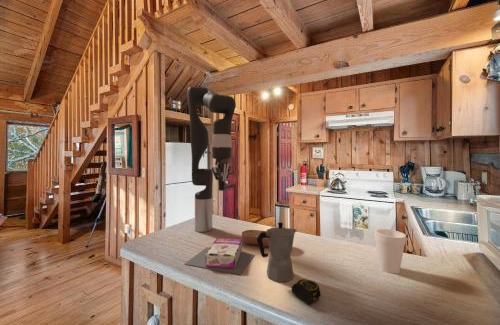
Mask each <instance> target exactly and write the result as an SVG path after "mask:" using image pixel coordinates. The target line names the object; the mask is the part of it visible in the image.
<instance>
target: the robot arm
mask: <svg viewBox="0 0 500 325" xmlns="http://www.w3.org/2000/svg"><path fill="white" fill-rule="evenodd" d="M186 92H187V93H186V96H187V97H186V99H187V106H188V115H189V116H188V117H189V135H190V136H189V138H190V149H191V183H192V184H193V186H203V187H204V186H205V187H204V189H202V190H200V191H197V192H195V194H194V231H195V232H197V233H207V232H210V231H212V230H213V179H215V180H216V181H217V182H218V191H221V192H223V191H225V190H226V181H227V179H229V177H230V173H231V169H232V166H231V165H229V159H232V149H233V148H232V144H233V143H232V123H233V122H232V121H233V118H234V114H235V109H236V101H235V98H234V97H233V96H230V95H223V94H218V93H215V92H212V91H211V90H210V89H209V88H208V87H205V86H189V87H188V88H187V91H186ZM197 107H206V108H207V109H209V111H210V112H211V113H214V114H220V115H221V114H222V115H224V116H223V118H218V119H214V120H213V123H212V139H211V141H212V142H211V143H212V145H211V146H212V147H211V148H212V149H211V151H212V152H211V153H212V154H211V155H212V159H215V162H214V167H212V168H200V161H201V159H202V157H203V156H204V154H205V152H206V150H207V149H208V148H209V139H210V138H209V131H208V129H207V127H206V125H205V124H204V122H203V121H202V119H201V118H200V116H199V115H198V111H197ZM213 176H214V178H213Z"/></svg>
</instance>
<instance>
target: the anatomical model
mask: <svg viewBox="0 0 500 325" xmlns="http://www.w3.org/2000/svg"><path fill="white" fill-rule="evenodd" d="M266 231H267V230H258V229H257V230H256V229H247V230H244V231H242V232H241V236H242V237H241V238H242V241H244V242H245V243H246V244H248V245H254V246H258V243H257V237H258V236H259V234H260V233H261V232H266ZM262 242H263V247H266V248H269V242H268V238H263V239H262Z"/></svg>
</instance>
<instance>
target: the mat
mask: <svg viewBox="0 0 500 325" xmlns="http://www.w3.org/2000/svg"><path fill="white" fill-rule="evenodd" d="M209 248H210V247H207V246H206V247H205V248H204V249H202V250H201V251H199V252H198V253H197V254H195V255H194V256H192V257H191V258H190V259H189V260H187V261H186V262H185V263H184V265H186V266H189V267H196V268H201V269H206V270H211V271H217V272H223V273H228V274H233V275H238V276H241V274H242V273H243V272H244V271H245V269H246V268H247V266H248V265H249V263H251V261H252V259H254V257H255V254H252V253H246V252H241V254H240V256H239V259H238V262H237V264H236V267H235V268H223V267H207V266H205V263H206V252H207V251H208V250H209Z"/></svg>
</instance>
